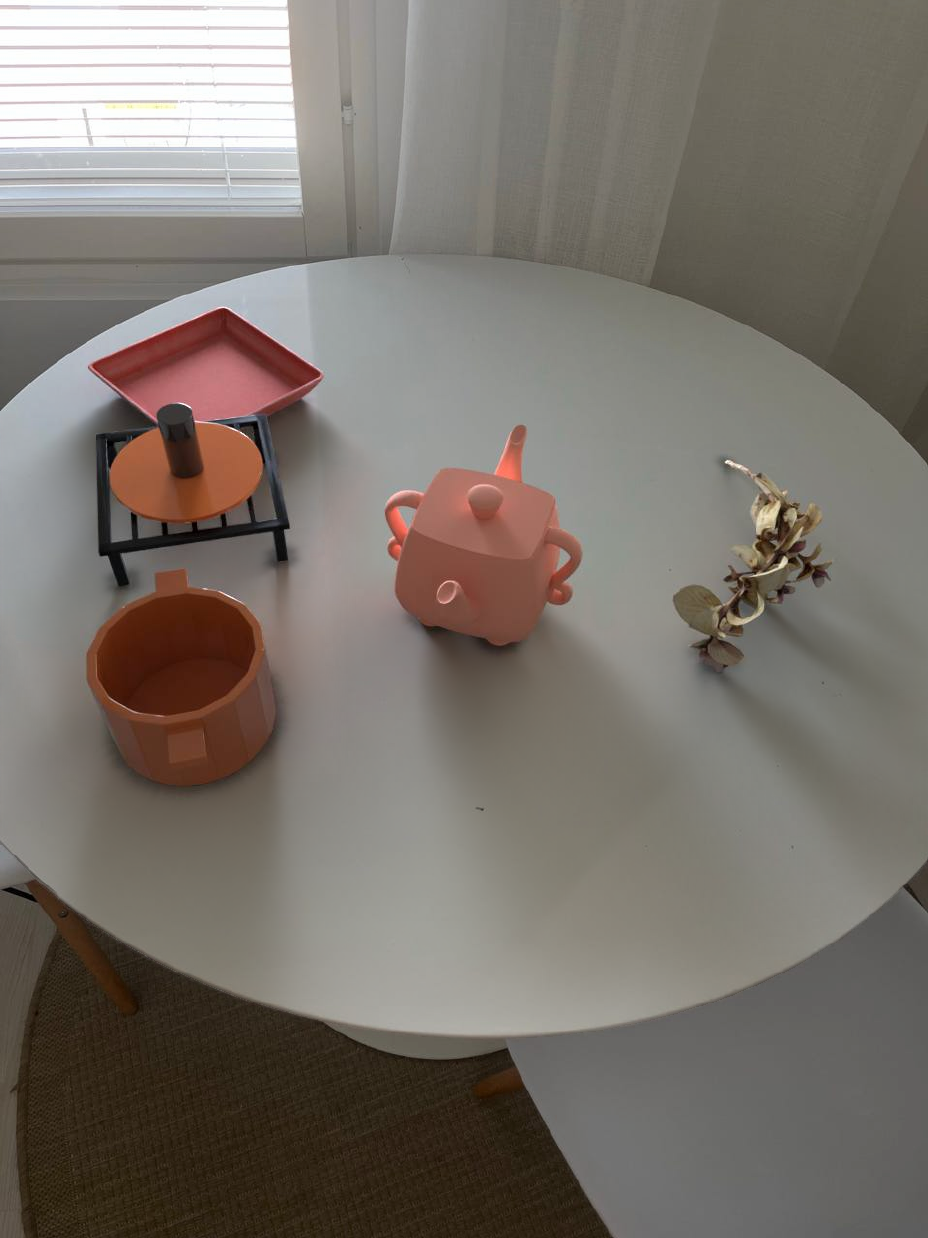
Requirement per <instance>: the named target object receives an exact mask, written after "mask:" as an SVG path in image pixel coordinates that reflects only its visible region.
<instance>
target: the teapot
mask: <svg viewBox="0 0 928 1238" xmlns="http://www.w3.org/2000/svg"><path fill="white" fill-rule="evenodd" d="M527 435H528V430H527V427H526V425H524V424H517V425H516V426H515V427H514V428H513V429H512V430H511V432H510V434H509V436H508V438H507V441H506V443H505V446H504V450H503V453H502V455H501V457H500V460H499V463H498V465H497V467H496V468H495V471H494V473H493V474H492V473H488V472H483V471H477V470H471V469H465V468H459V467H445V468H444V467H443V468H441V469H440V470H439V471H438V472H437V473H436V474H435V476H434V477H433V479H432V480H431V482H430V483H429V485H428V488H427V489H426V491H425V493H422V492H420V491H416V490H409V489H408V490H400V491H398V492H396V493H394V494H393V495H391V496H390V497H389V499H388V500H387V502H386V504H385V506H384V517H385V521H386V523H387V525H388V527H389V530H390V531H391V533H392V535H393V536H392V537H391V538H390V539H389V540H388V542H387V553H388V555H389V556H390V558H392V559H393V560H394V561H396V569H395V577H394V594H395V597H396V599H397V601H398V603H399V604H400V606H401V607H402V608H403V609H404V611H406V612H407V613H409V614H410V615H412V616H414V617H417V619H418V621H419V622H420V623H421V624H422V625H425V626H427V627H440V628H443V629H446V630H449V631H452V632H456V633H459V634H463V635H467V636H471V637H475V638H480V639H481V638H482V639H485V640H486V641H487V642H488V643H490V644H491V645H494V646H498V647H499V646H500V647H501V646H506V645H508V644H510V643H518V642H522V641H525V640H526V639H527V638H528V636H529V635H530V634H531V633H532V632H533V630H535V628H536V626H537V624H538V622H539V620H540V618H541V616H542V614H543V612H544V610H545V607H546V605H547V603H548V604H549V605H553V606H564V605H566V604H568V603H569V602H570V601H571V599H572V597H573V593H574V589H573V586H572V585H571V584H570V583H569V582H567V580H568V579H569V578H570V577H571V576H572V575H574V573H575V572H576V571H577V570H578V568H579V567H580V565H581V562H582V560H583V548H582V545H581V543H580V541H578V539H577V538H576V537H575V536H574V535H573V534H572V533H570V532H568V531H567V530H565V529H563V528H561V525H560V519H559V518H560V517H559V512H558V506H557V502H556V498H555V497H554V495H552V494H551V493H549V492H547V491H545V490H544V489H541V488H539V487H536V486H533V485H530V484H528V483H524V482H523V473H522V469H523V468H522V467H523V466H522V465H523V464H522V461H523V452H524V447H525V444H526V440H527ZM399 507H407V508H410V509H414V510H415V511H414V515H413V517H412V519H411V522H410V524H409V527H407V525H406V523H405V522H404V520H403V518H402V516H401V513H400V510H399ZM561 549H562V550H563V551H565V552H566V553H567V554H568V555H569V557H570V558H569V559H568V561H566V563H565V564H564V565H562V566H561V567H560V568H559V569H558V566H559V561H560V555H561Z"/></svg>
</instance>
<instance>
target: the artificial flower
mask: <svg viewBox="0 0 928 1238" xmlns="http://www.w3.org/2000/svg"><path fill="white" fill-rule="evenodd" d="M724 464H726V465H728V466H730V467H731V468H733V469H736V470H738V471H740V472H743V473H744V474H746V475H747V476H748V477H749V478H750V479H751V480H752V481H753V482H754V483H755V484H756V486H757V487H758V488H759V490H760V491H762V492H760V493H759V494H757V496H756V497H755V498H754V501H753V502H752V505H751V507H750V511H749V514H750V517H751V519H752V522H753V525H754V527H755V528H756V530H755V531H756V534H755V538H756V539H755V540H754V541H753V544H752V546H749V545H746V544H736V545H733V546H732V547H731V548H730V550H729V552H731V553H733V554H734V555H735V556H737V557H738V558H739V559H740V560H741V561H743V563H744V564H745V565H746V566H747V567H748V568H749V570H750V571H744V572H743V571H742V572H737V571H736V570H735V568H734V567H733V566H732V565H731V564H729V565H727V567H728V568H729V570H730V574H728V575H726V576H725V577H723V578H722V580H723V581H724V582H725V583H726V584H728V583H732V582H734V583H735V584H736V585H734V586H726V589H728V590H729V591H731V593H733V594H734V595H733V596H732V597H731V598H730V599H729V600H727V602H725V603H723V604H722V601H721V600H720V599H719V597H717V595H716V594H715V593H713V591H711V589H709V588H708V587H705V586H703V585H701V584H700V585H699V584H690V585H686V586H684V587H682V588H680V589H679V590H678V591H677V592H675V594H673V596H672V603H673V605H674V609H675V610H676V612H677V614H678V615H679V617H680V618H681V620H683V622H685V623H687V624H688V627H689V628H690V629H693V630H695V631H697V632H699V633H701V634H704V635H707V636H709V637H708V638H705V639H701V640H699V641H696V642H694V643H692V644H689V645H688V647H689V648H693V649H697V650H699V653H698V655H699V657H698V658H699V661H700V662H701V663H702V664H704V665H707V666H709V667H711V668H712V669H713V670H714V671H715V672H716V673H717V674H722V673H723V672H724V669H726V668H728V667H730V666H735V665H737V664H739V663H740V662H741V661H742V660H743V659H744V658H746V657H747V655H745V654H744V653H743V651H742V650H741V649H740V648H738V647H737V646H735V645H734V644H732V643H730V642H729V641H726V640H725V638H726V636H729V637H736V638H740V637H744V625H745V624H747V623H749V622H751V621H753V620H755V619H756V618H758V617H759V616H760V615H761V614H762V613H763V612H764V610H765V604H766V602H768V603H770V604H775V605H782V604H783V602H784V595H793V594H794V593H795V592H796V591H797V590H796V587H794V586H791V585H788V584H791V583H798V582H801V581H805V580H807V579H809V578H811V580H812V583H813V584H814V586H815V588H818V589H819V588H821V587H822V586H824V584H825V578H826V579H827V580H828V581H829V582H831V581H832V579H831V577H830V576H829V573H828V572H827V571H826V570H827V569H829V568H830V566H831V565H832V563H833V562H834V561H836V558H835V557H833V558H832V559H831V560H828V561H824V562H823V563H817V564H812V561H814V560H816V559H817V558H818V557H819V555H820V554H821V552H822V544H821V541H820V540H818V542H817V545H816V547H815V549H814V551H813V552H812V554H811V555H810V556H804V555H802V554H801V553H800V552H803V551H804V550H805V548H806V547H807V539H803V540H799V539H800V538H803V537H805V536H807V535H808V534H810V533H811V532H813V530H815V529H816V527H818V525H819V524H820V523H821V522H822V517H823V515H822V510H821V509H820V508H819V506H818V505H817V504H816V503H813V502H812V503H809V505H808V508H807V510H806V512H805V513H803V512H801V511H799V507H800V505H801V503H800V502H796V499H794V500H793V502H792V503H791V502H789V500H788V498H787V496H788V492H789V491H788V490H784V491H783V492H782V491H781V490H780V489H779V487H778V486H776V484H775V483H774V482H773V481H772V480H771V479H770V478H769V477H768V476H767V475H766V474H765V473H764V472H758V473H756V474H755V473H754V472H753V471H752V470H750V469H748V468H746V467H745V466H744V465H743V464H739V463H735V462H734V461H732V460H730V459H726V461H724ZM775 530H777V533H775ZM773 541H776V542H777V543H776V544H777V545H776V544H775V543H773ZM799 560H800V561H801V562H802V565H801V562H800V561H799ZM799 569H800V570H801V571H800V572H799V573H798V575H797V576H796V577H795V580H787V579H788V578H789V576H790V574H791V573H792V572H795V571H797V570H799ZM752 574H753V575H752ZM744 575H751V576H744ZM771 592H776V596H773V597H768V595H769V594H770V593H771ZM741 601H742V602H743V604H744V605H747V606H748V607H751V608H752V609H754V610H755V611H754V612H753V614H752V615H751V616H748V617H744V618H742V616H741V613H740V608H739V605H740V602H741ZM720 638H721V639H720Z"/></svg>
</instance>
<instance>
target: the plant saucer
mask: <svg viewBox="0 0 928 1238" xmlns="http://www.w3.org/2000/svg"><path fill="white" fill-rule="evenodd" d="M87 369H88V370H89V372H91V373H92V374H93V375H94V376H95V377H97V378H98V379H99V380H100V381H101V382H103V383H104V384H105V385H106V386H108V387H109V388H110V389H111V390H112V391H114V392H115V393H116V394H117V395H119V396H120V397H121V398H122V399H124V401H126V402H127V403H128V404H129V405H131V406H132V407H133V408H135V409H136V410H137V411H138V412H139V413H141V414H142V415H143V416H145V418H147V419H148V420H149V421H151V422H152V423H153V424H154V425H156V427H159V426H158V422H157V418H156V414H157V411H158V410H159V409H160V408H161V407H163V406H165V405H168V404H172V403H181V404H185V405H187V406H189V407H190V408H191V409H192V412H193V417H194V421H195V422H201V421H209V420H218V419H226V418H235V417H243V416H251V415H260V414H266V416H267V417H269V416H271V415H272V414H274V413H276V412H278V411H280V410H283V409H284V408H286V407H288V406H290V405H291V404H294V403H295V402H297V401H299V400H301V399H303V398H304V397H305V396H307V395H308V394H309V393H310V392H311V391H313V390H315V388H316V387H317V386H318V385H319V384H320V383H321V381H322V380H323V379H324V378H325V373H324V372H323V371H322V370H320V369H319V368H318V367H316V366H315V365H314V364H312V363H310V362H309V361H307V360H305V358H303V357H302V356H300V355H298V354H297V353H296V352H294V351H293V350H292V349H289V348H288V347H286V346H285V345H284V344H282V343H280V342H279V341H278V340H276V339H275V338H274V337H272V336H270V335H269V334H268V333H266V332H265V331H263V330H261V329H260V328H259V327H257V326H256V325H254V324H253V323H251V322H250V321H248V320H247V319H245V317H242V316H241V315H240V314H238V313H237V312H235V311H234V310H232V309H231V308H229V307H228V306H227V307H226V306H219V307H217V308H215V309H212V310H209V311H207V312H205V313H203V314H200V315H198V316H195V317H193V318H190V319H188V320H186V321H184V322H181V323H179V324H177V325H173V326H172V327H169V328H167V329H165V330H163V331H160V332H158V333H156V334H153V335H151V336H148V337H146V338H144V339H141V340H140V341H137V342H135V343H132V344H130V345H128V346H126V347H123V348H122V349H118V350H116V351H115V352H111V353H109V354H107V355H105V356H103V357H100V358H98V359H96V360H93V361H91V362H90V363H88V365H87ZM245 428H247V427H242V428H240V431H242V430H243V429H245ZM233 429H234V428H233Z"/></svg>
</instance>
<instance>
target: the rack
mask: <svg viewBox="0 0 928 1238" xmlns="http://www.w3.org/2000/svg"><path fill="white" fill-rule="evenodd" d="M201 422H208V423H215V424H220V425H224V426H227V427H230V428H234V429H235V430H237V431H239V432H241V430H240V428H242V427H246V428H249V427H252V433H253V439H254V444H255V445H256V446H257V448H258V450H259V452H260V454H261V457H262V462H263V465H265V468H266V475H267V479H268V480H267V481H268V483H269V489H270V494H271V498H272V503H273V509H274V514H275V518H272V519H265V520H258V521H257V517H256V510H255V505H254V500H253V494H252V495H251V496H250V497H249V498H248V499H247V500H246V503H247V510H248V514H249V520H250V522H243V523H236V524H230V525H228V520H227V518H228V517H227V512H226V513H224V514H222V515H219V518H220V525H221V526H216V527H209V528H202V529H199V524H198V522H199V521H198V522H191V523H190V524H191V530H187V531H180V532H174V533H170V532H169V531H170V530H169V523H163V522H160V523H161V525H160V527H161V534H160V535H152V536H146V537H140V534H139V519H138V515H135V514H134V513H132V512H130V511H129V512H130V529H131V531H130V532H131V539H126V540H118V541H112V540H113V539H112V514H111V511H112V509H111V489H110V488H111V485H110V479H109V478H110V470H111V466H112V464H113V461H114V459H115V458H116V456H117V455H118V450H117V447H116V444H118V443H125V442H126V445H127V444H129V443H130V442H131V441H133V440H134V439H136V438H137V437H139V436H141V435H142V434H144V433H146V432H149V431H151V430H153V429H156V428H159V427H158V426H152V427H143V428H135V429H127V430H120V431H119V430H118V431H110V432H101V433H100V432H99V433H96V434H95V464H96V466H95V470H96V471H95V473H96V507H97V508H96V512H97V515H96V516H97V549H98V550H97V551H98V555H99V557H101V558H102V557H107V558H108V561H109V564H110V567H111V569H112V572H113V576H114V578H115V581H116V584H117V586H118V587H124V586H125V587H126V586H130V585H131V580H130V579H131V578H130V574H129V572H128V569H127V566H126V562H125V560H124V556H123V554H129V553H136V552H142V551H151V550H156V549H162V548H170V547H171V548H172V547H177V546H182V545H183V546H184V545H189V544H196V543H204V542H210V541H211V542H212V541H217V540H224V539H231V538H238V537H245V536H251V535H252V536H253V535H258V534H259V535H260V534H264V533H265V534H266V533H272V537H273V538H272V539H273V543H274V544H273V545H274V550H275V556H276V562H277V563H281V562H287V561H289V555H288V548H287V540H286V532H285V531H286V530H290V529H291V526H290V525H291V524H290V519H289V515H288V509H287V506H286V502H285V501H286V500H285V497H284V492H283V486H282V482H281V478H280V473H279V468H278V463H277V460H276V459H277V458H276V455H275V451H274V445H273V440H272V436H271V432H270V426H269V422H268V416H266V414H260V415H251V416H243V417H235V418H226V419H218V420H209V421H201Z"/></svg>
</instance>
